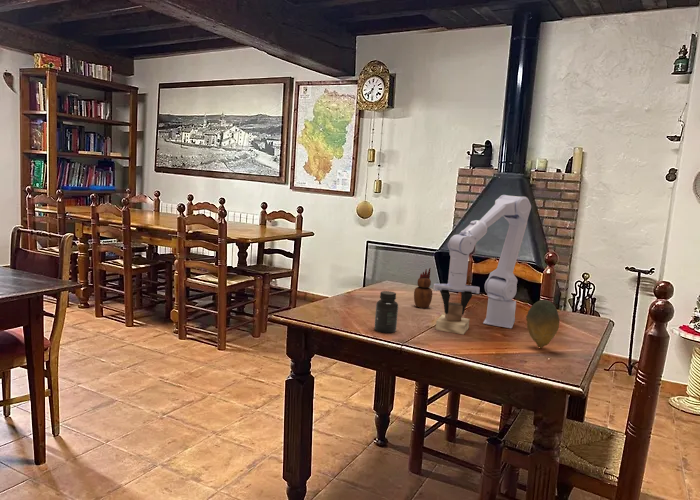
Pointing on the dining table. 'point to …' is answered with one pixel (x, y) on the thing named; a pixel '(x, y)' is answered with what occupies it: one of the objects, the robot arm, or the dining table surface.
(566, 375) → the dining table surface
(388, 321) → the supplement bottle
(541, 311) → the mango
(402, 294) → the dining table surface
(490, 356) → the dining table surface
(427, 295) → the wooden figurine
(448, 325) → the base block
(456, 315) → the walnut block
